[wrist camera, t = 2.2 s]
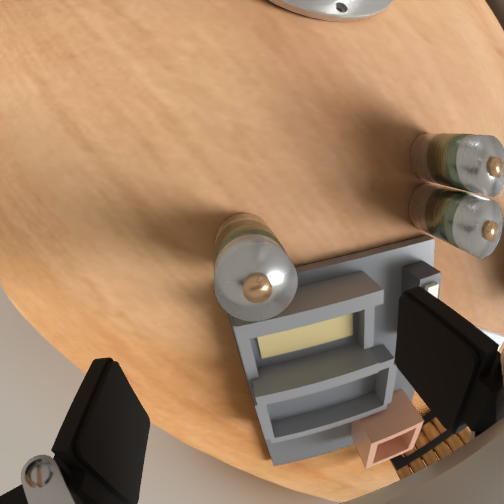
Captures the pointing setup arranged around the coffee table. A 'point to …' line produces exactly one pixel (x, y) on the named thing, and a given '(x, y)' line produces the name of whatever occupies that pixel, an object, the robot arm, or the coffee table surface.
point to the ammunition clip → (429, 446)
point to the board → (332, 348)
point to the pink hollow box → (387, 431)
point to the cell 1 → (252, 269)
